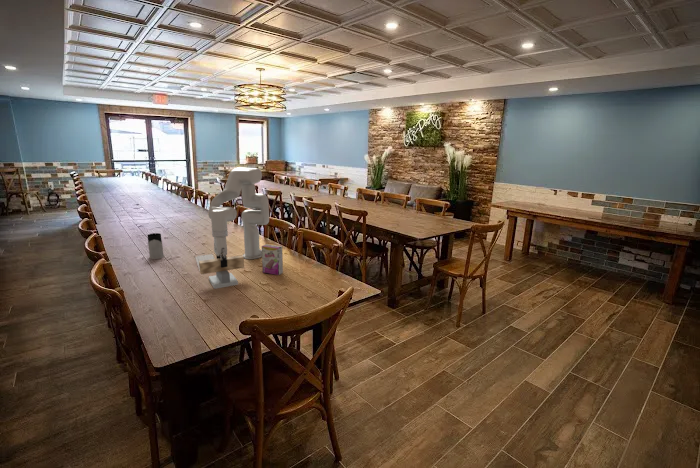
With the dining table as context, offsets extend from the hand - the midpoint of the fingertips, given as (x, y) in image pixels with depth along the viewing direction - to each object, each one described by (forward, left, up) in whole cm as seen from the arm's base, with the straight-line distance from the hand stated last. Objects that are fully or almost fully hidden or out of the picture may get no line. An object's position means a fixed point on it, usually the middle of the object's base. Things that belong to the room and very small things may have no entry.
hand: (222, 264), depth 183 cm
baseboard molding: (+3, -37, -11) cm, 38 cm away
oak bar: (0, 0, -3) cm, 3 cm away
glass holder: (+27, -67, -10) cm, 73 cm away
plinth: (0, 0, -10) cm, 10 cm away
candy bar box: (-28, -1, -10) cm, 30 cm away
